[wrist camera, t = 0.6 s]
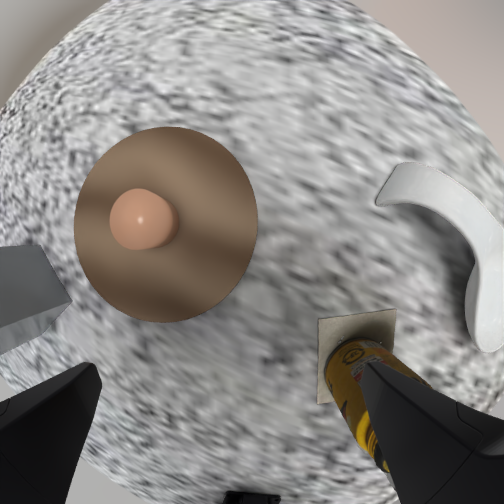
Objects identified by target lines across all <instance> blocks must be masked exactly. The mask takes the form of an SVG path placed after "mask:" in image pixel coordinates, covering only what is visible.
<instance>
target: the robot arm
mask: <svg viewBox="0 0 504 504" xmlns="http://www.w3.org/2000/svg"><path fill="white" fill-rule="evenodd" d="M101 389H102V381H101V379H100V376H99V373H98V370H97V368H96V366H95V364H93V363H89V362H83V363H81V364H79V365H77V366H75V367H72V368H70V369H68V370H66V371H64V372H62V373H60V374H58V375H56V376H54V377H52V378H50V379H48V380H46V381H44V382H42V383H40V384H38V385H36V386H34V387H32V388H29V389H27V390H25V391H23V392H21V393H19V394H17V395H15V396H13V397H11V398H8V399H6V400H4V401H2V402H0V504H65V502H66V498H67V495H68V491H69V488H70V485H71V482H72V478H73V475H74V472H75V469H76V466H77V463H78V460H79V457H80V454H81V452H82V449H83V446H84V443H85V440H86V438H87V435H88V432H89V430H90V427H91V424H92V421H93V418H94V414H95V411H96V407H97V403H98V400H99V396H100V393H101ZM361 389H362V393H363V397H364V400H365V404H366V408H367V412H368V415H369V419H370V422H371V425H372V428H373V431H374V433H375V436H376V438H377V441H378V443H379V446H380V448H381V451H382V454H383V456H384V459H385V461H386V464H387V467H388V469H389V472H390V475H391V477H392V480H393V483H394V486H395V488H396V491H397V494H398V497H399V500H400V503H401V504H504V420H502V419H499V418H496V417H493V416H491V415H488V414H485V413H483V412H480V411H477V410H475V409H473V408H471V407H468V406H466V405H464V404H462V403H460V402H458V401H457V402H456V401H455V400H454V399H452V398H450V397H448V396H446V395H444V394H442V393H440V392H438V391H436V390H434V389H432V388H430V387H428V386H426V385H424V384H422V383H420V382H418V381H416V380H414V379H412V378H410V377H408V376H406V375H404V374H402V373H401V372H399V371H397V370H395V369H393V368H391V367H389V366H387V365H385V364H383V363H382V362H380V361H377V360H376V361H370V362H367V363H366V364H365V366H364V370H363V374H362V378H361ZM280 501H281V497H280V496H275V495H260V494H249V493H240V492H232V491H228V492H226V493H225V497H224V500H223V503H222V504H279V502H280Z"/></svg>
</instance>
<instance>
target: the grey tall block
mask: <svg viewBox="0 0 504 504" xmlns="http://www.w3.org/2000/svg"><path fill="white" fill-rule="evenodd" d="M71 302H72V300H71V298H70V296H69V295H68V293H67V292H66V290H65V288H64V287H63V285H62V284H61V282H60V280H59V279H58V277H57V275H56V273H55V272H54V270H53V268H52V266H51V265H50V263H49V261H48V259H47V257H46V255H45V254H44V252H43V250H42V248H41V246H40V245H30V246H7V247H0V355H2V354H4V353H6V352H8V351H10V350H12V349H14V348H16V347H18V346H20V345H22V344H24V343H26V342H28V341H30V340H32V339H34V338H36V337H38V336H40V335H42V334H43V333H44V332H45V330H46V329H47V328H48V327H49V326H50V325H51V324H52V323H53V321H54V320H55V319H56V318H57V317H58V316H59V315H60V314H61V313H62V312H63V311H64V309H65V308H66V307H67V306H68V305H69V304H70V303H71Z"/></svg>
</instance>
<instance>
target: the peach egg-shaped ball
mask: <svg viewBox="0 0 504 504" xmlns="http://www.w3.org/2000/svg"><path fill="white" fill-rule="evenodd" d="M178 227H179V216H178V213H177V210H176V208H175V207H174V205H173V204H172V203H171V202H169V201H168V200H166V199H164V198H162V197H160V196H158V195H156V194H154V193H152V192H150V191H148V190H145V189H132V190H129V191H127V192H125V193H123V194H122V195H121V196H120V197H119V198H118V199H117V200H116V202H115V203H114V205H113V207H112V210H111V213H110V228H111V232H112V234H113V236H114V238H115V239H116V241H117V242H118V243H119V244H120V245H122V246H123V247H125V248H128V249H131V250H141V249H151V248H160V247H163V246H165V245H167V244H168V243H170V242H171V241H172V240H173V238H174V237H175V235H176V233H177V231H178Z"/></svg>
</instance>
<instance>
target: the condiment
mask: <svg viewBox="0 0 504 504" xmlns="http://www.w3.org/2000/svg"><path fill="white" fill-rule="evenodd" d="M395 322H396V309H393V310H385V311H378V312H370V313H363V314H356V315H349V316H342V317H333V318H326V319H318V325H319V334H318V335H319V349H318V350H319V355H318V386H317V404H323V403H329V402H334V401H335V402H336V404H337V406H338V408H339V409H340V411H341V413H342V416H343V417H344V419H345V420H346V422H347V425H348V426H349V428H350V431H351V432H352V433H353V436H354V438H355V439H356V441H357V442H358V444H359V446H360V447H361V448H363V449H364V450H366V451H367V452H368V453H369V454H370V456H371V457H372V458H373V459H374V460H375V462H376V465H377V466H378V467H379V468H380V469H381V470H382V471H383V472H385V473H390V472H389V469H388V467H387V464H386V461H385V459H384V456H383V454H382V451H381V448H380V446H379V443H378V441H377V438H376V436H375V433H374V431H373V428H372V425H371V422H370V419H369V415H368V412H367V408H366V404H365V400H364V397H363V393H362V389H361V378H362V374H363V370H364V366H365V364H366V363H367V362H370V361H376V360H377V361H380V362H382V363H383V364H385V365H387V366H389V367H391V368H393V369H395V370H397V371H399V372H401V373H402V374H404V375H406V376H408V377H410V378H412V379H414V380H416V381H418V382H420V383H422V384H424V385H426V386H428V387H430V388H432V387H431V386H430V385H429V384H428V383H427V382H426V381H425V380H423V379H422V378H421V377H420V376H419V375H417V374H416V373H415V372H414V371H412V370H411V369H410V368H409V367H407V366H406V365H405V364H404V363H402V362H401V361H400V360H399V359H397V358H396V357H395V356H394V355H393V354H392V353H393V347H394V331H395ZM342 336H344V338H343V339H342V340H341V338H342ZM340 340H341V343H338V342H339V341H340ZM380 342H382V343H381V344H380ZM432 389H433V388H432Z"/></svg>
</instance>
